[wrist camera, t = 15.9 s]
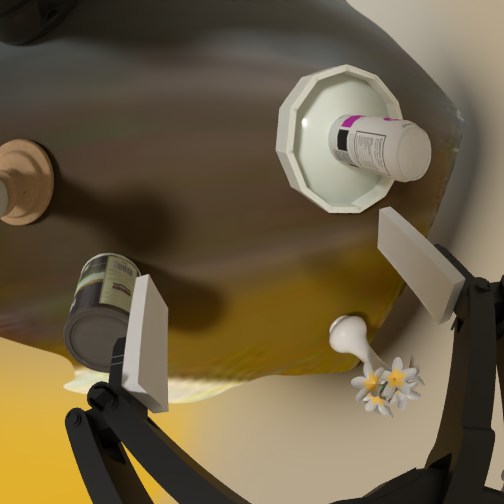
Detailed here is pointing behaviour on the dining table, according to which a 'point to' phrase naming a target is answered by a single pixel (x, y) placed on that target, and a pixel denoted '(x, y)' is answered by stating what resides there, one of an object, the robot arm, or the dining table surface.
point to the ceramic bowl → (316, 137)
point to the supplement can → (381, 146)
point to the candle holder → (24, 181)
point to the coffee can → (100, 310)
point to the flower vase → (374, 368)
